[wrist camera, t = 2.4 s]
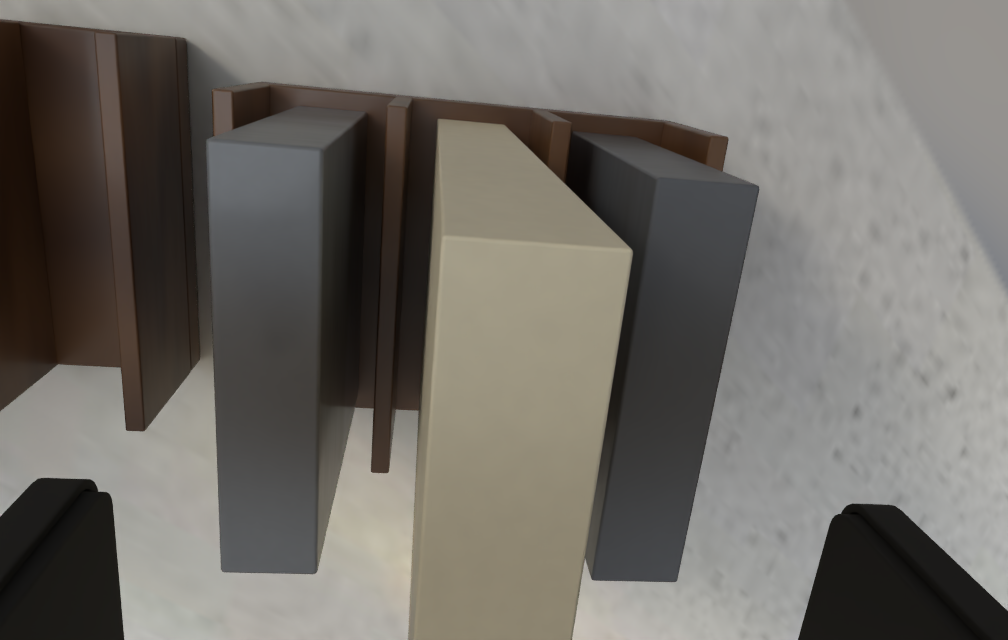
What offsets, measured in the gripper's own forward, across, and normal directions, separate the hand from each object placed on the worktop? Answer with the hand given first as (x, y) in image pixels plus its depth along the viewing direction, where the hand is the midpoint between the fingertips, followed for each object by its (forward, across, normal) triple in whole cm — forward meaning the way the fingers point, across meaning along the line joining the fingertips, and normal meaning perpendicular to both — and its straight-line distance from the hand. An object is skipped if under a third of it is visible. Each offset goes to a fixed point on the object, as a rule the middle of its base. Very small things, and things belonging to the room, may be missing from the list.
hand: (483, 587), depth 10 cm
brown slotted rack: (+15, 0, 0) cm, 15 cm away
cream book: (+14, 0, 0) cm, 14 cm away
